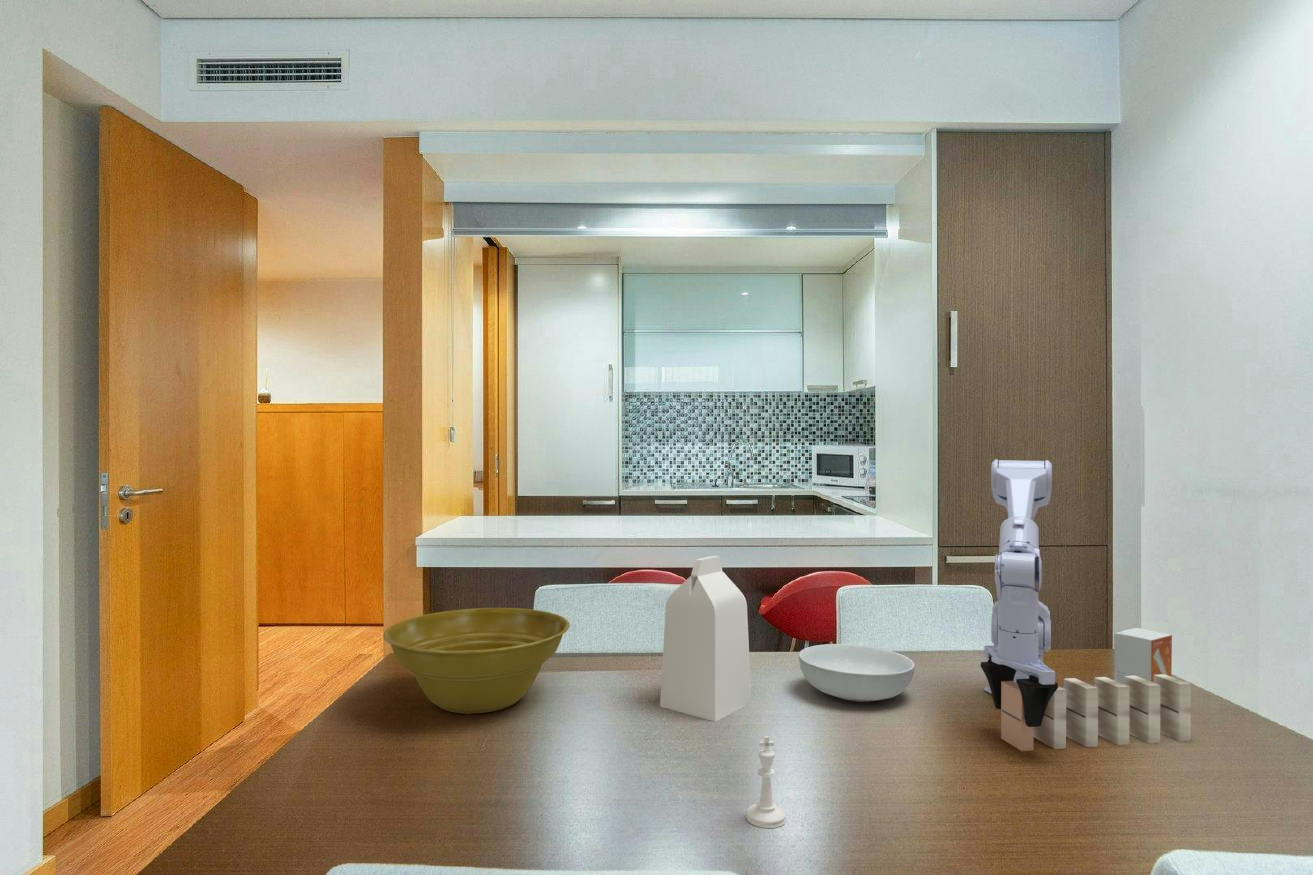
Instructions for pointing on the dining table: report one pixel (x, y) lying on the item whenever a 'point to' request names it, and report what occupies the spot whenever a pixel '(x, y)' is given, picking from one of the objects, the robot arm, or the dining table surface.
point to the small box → (1142, 654)
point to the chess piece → (766, 794)
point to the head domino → (1014, 718)
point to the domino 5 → (1174, 707)
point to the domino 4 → (1144, 709)
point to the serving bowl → (856, 671)
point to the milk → (706, 645)
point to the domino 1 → (1054, 722)
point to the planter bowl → (476, 654)
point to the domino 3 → (1113, 710)
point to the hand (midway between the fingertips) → (1017, 716)
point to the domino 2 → (1081, 712)
